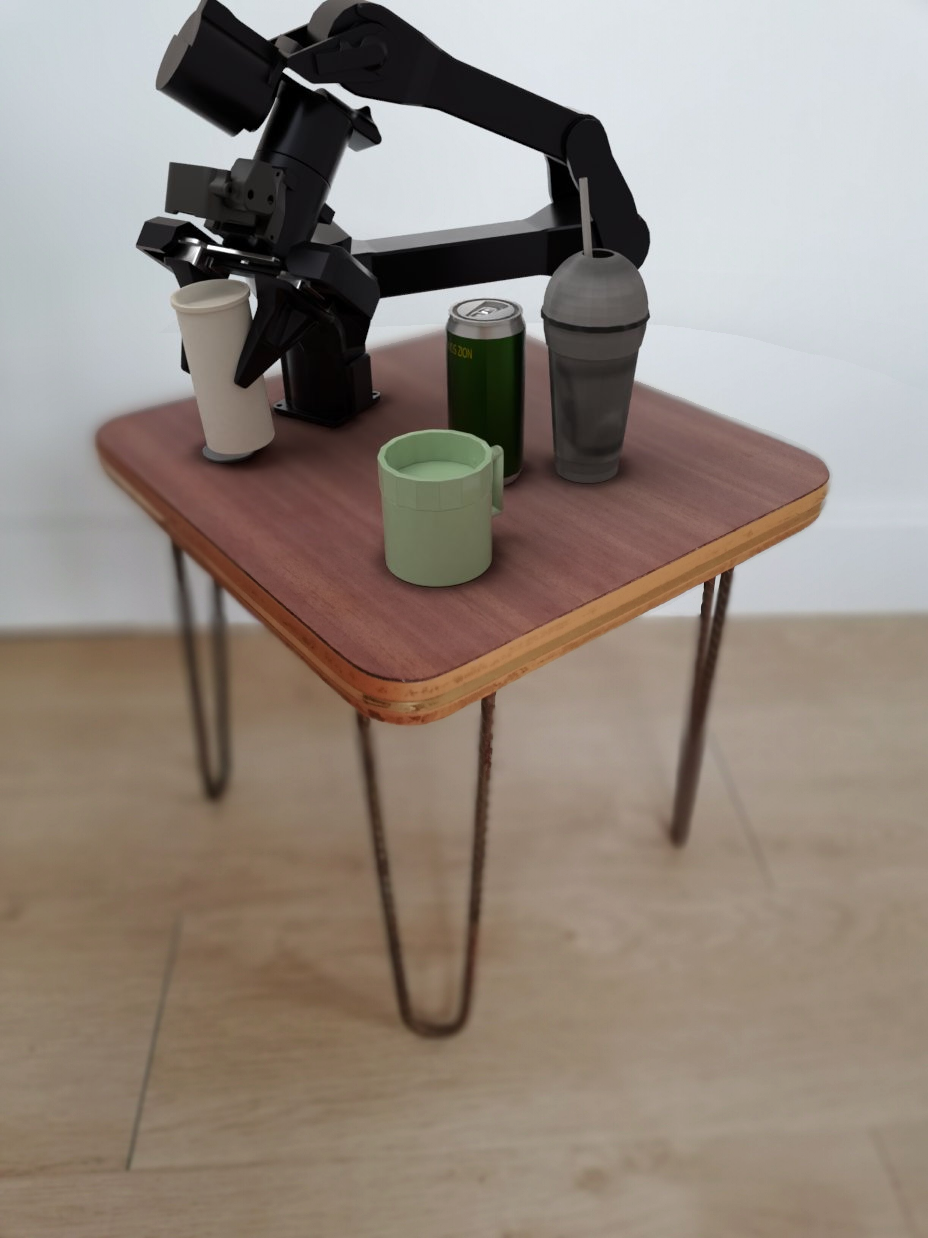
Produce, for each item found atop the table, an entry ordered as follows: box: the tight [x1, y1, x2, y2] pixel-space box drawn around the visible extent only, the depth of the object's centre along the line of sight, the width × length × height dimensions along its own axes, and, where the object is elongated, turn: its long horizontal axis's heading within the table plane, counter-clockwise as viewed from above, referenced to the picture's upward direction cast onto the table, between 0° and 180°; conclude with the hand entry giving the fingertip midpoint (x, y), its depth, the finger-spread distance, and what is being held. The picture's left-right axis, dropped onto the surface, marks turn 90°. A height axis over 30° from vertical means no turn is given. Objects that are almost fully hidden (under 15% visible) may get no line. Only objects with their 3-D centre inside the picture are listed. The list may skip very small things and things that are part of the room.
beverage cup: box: [540, 178, 651, 484], centre depth 73 cm, size 7×7×20 cm
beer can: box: [444, 296, 527, 487], centre depth 75 cm, size 5×5×12 cm
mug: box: [377, 429, 504, 588], centre depth 67 cm, size 9×7×7 cm
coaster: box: [202, 444, 257, 464], centre depth 82 cm, size 4×4×1 cm
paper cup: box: [169, 278, 276, 454], centre depth 77 cm, size 5×5×11 cm
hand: (212, 379), depth 76 cm, fingers closed on paper cup, 5 cm apart
